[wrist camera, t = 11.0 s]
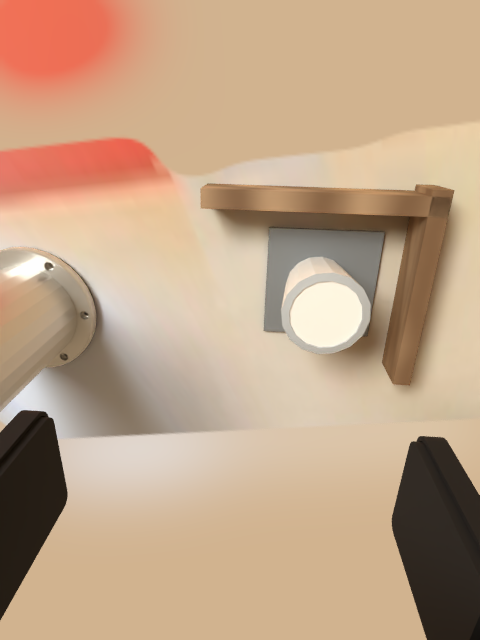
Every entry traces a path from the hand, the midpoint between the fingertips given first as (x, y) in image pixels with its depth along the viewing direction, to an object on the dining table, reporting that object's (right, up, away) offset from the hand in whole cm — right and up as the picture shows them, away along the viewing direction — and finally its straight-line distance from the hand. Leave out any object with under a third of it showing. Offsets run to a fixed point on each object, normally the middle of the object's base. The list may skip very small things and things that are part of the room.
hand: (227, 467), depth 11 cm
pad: (+8, +7, +27) cm, 29 cm away
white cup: (+7, +7, +27) cm, 29 cm away
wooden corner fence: (+7, +7, +27) cm, 29 cm away
